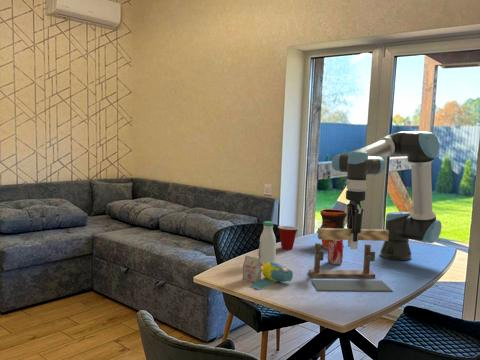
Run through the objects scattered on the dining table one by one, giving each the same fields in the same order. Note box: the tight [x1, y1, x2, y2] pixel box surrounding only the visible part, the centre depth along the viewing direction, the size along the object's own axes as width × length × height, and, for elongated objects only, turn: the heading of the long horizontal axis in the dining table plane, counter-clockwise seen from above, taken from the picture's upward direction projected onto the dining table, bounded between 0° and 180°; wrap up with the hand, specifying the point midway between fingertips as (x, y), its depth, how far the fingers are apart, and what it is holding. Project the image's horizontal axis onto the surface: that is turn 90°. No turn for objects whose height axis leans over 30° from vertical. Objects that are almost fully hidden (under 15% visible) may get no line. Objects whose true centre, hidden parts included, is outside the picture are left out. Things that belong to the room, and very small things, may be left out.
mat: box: [311, 279, 393, 293], centre depth 182 cm, size 30×12×1 cm, turn 93°
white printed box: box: [242, 254, 262, 284], centre depth 186 cm, size 4×7×10 cm, turn 52°
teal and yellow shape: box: [247, 261, 294, 291], centre depth 186 cm, size 28×9×15 cm
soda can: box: [327, 240, 344, 265], centre depth 214 cm, size 7×7×12 cm
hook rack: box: [308, 242, 376, 279], centre depth 193 cm, size 28×10×14 cm, turn 93°
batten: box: [317, 227, 389, 242], centre depth 179 cm, size 28×3×4 cm, turn 93°
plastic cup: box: [277, 225, 299, 251], centre depth 238 cm, size 11×11×12 cm
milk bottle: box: [258, 220, 277, 266], centre depth 209 cm, size 8×8×20 cm
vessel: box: [319, 208, 347, 249], centre depth 246 cm, size 14×14×20 cm
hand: (352, 247), depth 180 cm, fingers closed on batten, 3 cm apart
